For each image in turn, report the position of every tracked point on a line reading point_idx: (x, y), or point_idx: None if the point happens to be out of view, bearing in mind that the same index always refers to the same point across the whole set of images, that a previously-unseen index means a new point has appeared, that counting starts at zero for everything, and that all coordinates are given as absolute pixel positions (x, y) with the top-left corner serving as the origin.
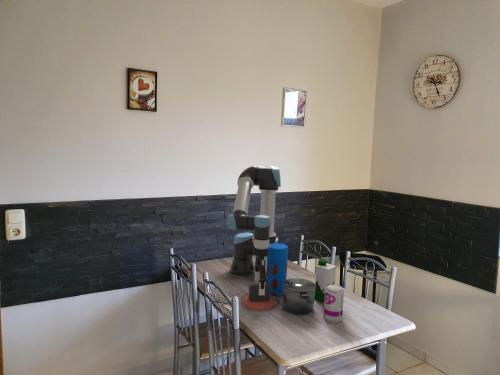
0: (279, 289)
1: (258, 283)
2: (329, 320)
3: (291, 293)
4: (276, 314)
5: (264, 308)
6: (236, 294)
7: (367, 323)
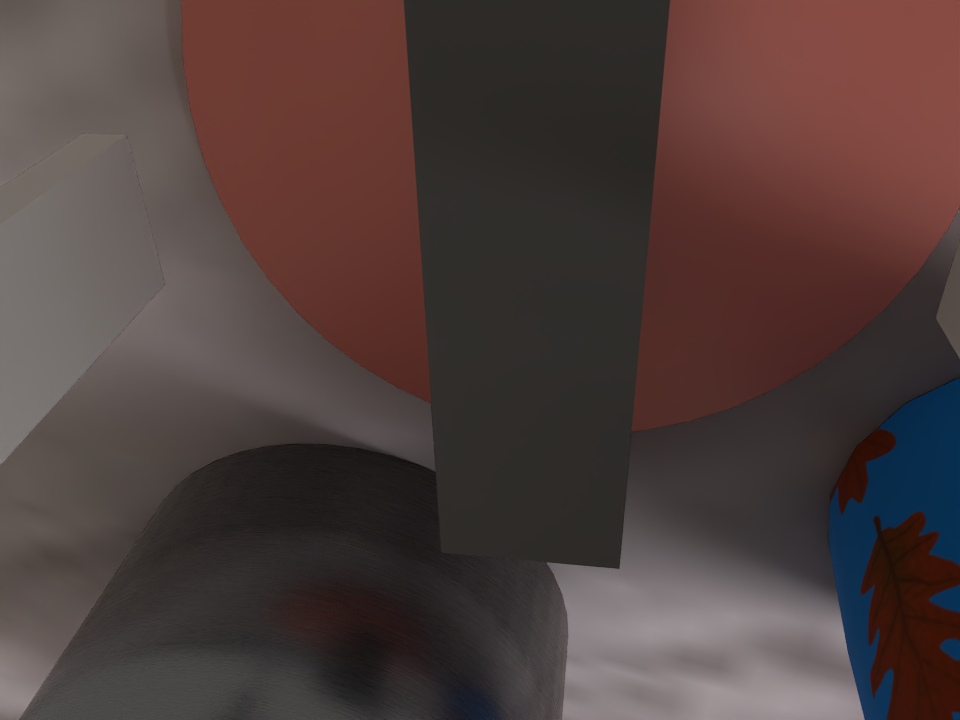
0: (846, 612)
1: (957, 290)
2: None
3: None
4: None
5: (211, 160)
6: None
7: None
